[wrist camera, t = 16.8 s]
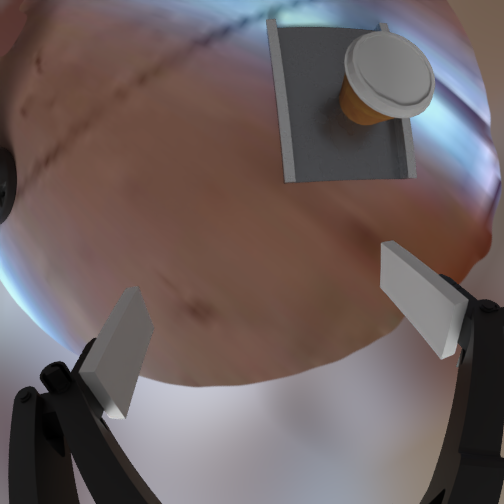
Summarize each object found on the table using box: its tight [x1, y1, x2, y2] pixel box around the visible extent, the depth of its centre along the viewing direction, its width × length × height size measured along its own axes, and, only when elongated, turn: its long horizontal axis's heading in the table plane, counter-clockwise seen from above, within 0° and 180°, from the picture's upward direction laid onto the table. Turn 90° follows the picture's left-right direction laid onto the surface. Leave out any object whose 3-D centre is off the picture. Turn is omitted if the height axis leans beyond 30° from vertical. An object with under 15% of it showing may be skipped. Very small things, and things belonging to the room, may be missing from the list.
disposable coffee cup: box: [339, 31, 435, 125], centre depth 27 cm, size 10×10×12 cm
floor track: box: [266, 19, 417, 183], centre depth 32 cm, size 22×16×3 cm
